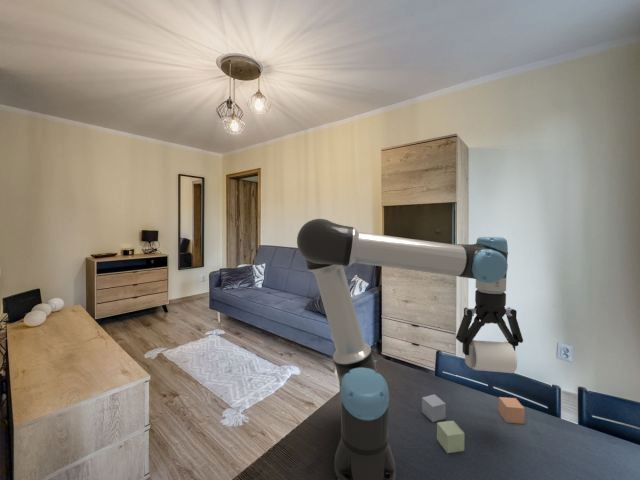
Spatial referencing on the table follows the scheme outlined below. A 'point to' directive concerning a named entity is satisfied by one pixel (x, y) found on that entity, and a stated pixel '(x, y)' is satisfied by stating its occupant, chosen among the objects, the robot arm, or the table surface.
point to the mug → (493, 356)
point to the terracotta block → (511, 410)
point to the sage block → (450, 436)
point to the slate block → (433, 408)
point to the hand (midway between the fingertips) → (488, 365)
